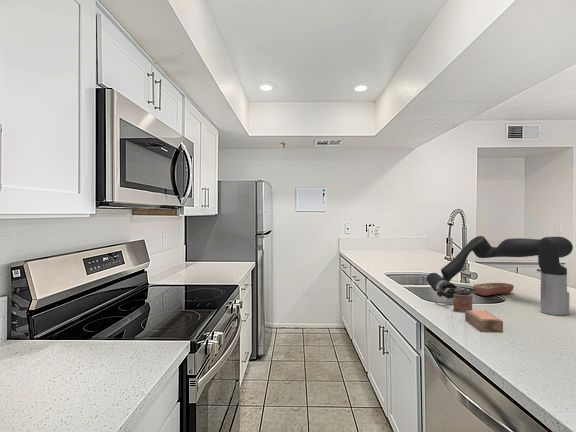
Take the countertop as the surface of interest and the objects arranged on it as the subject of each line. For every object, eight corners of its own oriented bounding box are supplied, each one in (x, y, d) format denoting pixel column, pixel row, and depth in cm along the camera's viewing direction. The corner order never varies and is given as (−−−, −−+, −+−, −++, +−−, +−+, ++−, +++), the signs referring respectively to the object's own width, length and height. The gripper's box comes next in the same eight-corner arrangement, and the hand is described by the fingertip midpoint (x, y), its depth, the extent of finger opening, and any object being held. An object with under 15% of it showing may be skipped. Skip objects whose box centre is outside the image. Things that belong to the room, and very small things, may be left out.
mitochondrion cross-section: (483, 298, 182) (483, 288, 182) (468, 294, 191) (468, 284, 191) (517, 295, 188) (517, 285, 188) (501, 291, 198) (501, 282, 198)
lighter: (470, 310, 160) (470, 288, 160) (473, 312, 157) (473, 289, 156) (452, 310, 161) (452, 288, 161) (454, 312, 157) (454, 289, 157)
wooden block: (485, 320, 145) (485, 309, 145) (503, 332, 131) (503, 320, 131) (465, 319, 146) (465, 309, 146) (480, 331, 132) (480, 320, 132)
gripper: (461, 296, 178) (475, 304, 162) (431, 296, 179) (442, 304, 163) (461, 281, 178) (475, 288, 162) (431, 281, 179) (442, 288, 163)
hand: (458, 296), depth 162 cm, fingers open, 8 cm apart
